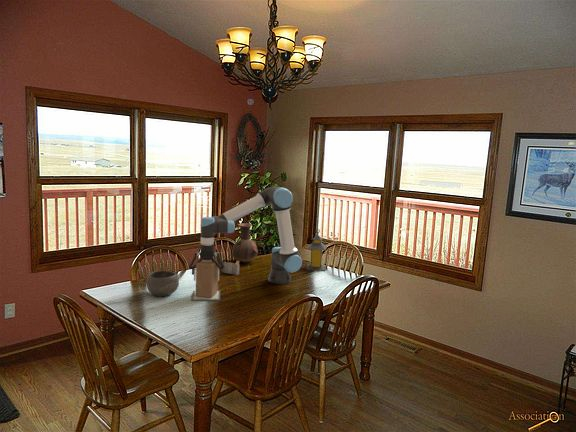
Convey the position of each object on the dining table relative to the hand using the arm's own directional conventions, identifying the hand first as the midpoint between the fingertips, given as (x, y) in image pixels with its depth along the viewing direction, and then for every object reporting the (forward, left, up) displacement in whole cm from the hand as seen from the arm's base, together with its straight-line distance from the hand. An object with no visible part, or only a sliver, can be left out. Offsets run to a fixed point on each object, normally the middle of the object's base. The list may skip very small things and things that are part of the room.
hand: (206, 280), depth 245 cm
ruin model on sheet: (-15, -48, -10) cm, 51 cm away
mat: (0, 0, -10) cm, 10 cm away
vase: (-26, -78, -10) cm, 83 cm away
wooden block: (0, 0, -9) cm, 9 cm away
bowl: (+25, -3, -10) cm, 27 cm away
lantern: (-79, -62, -10) cm, 101 cm away
